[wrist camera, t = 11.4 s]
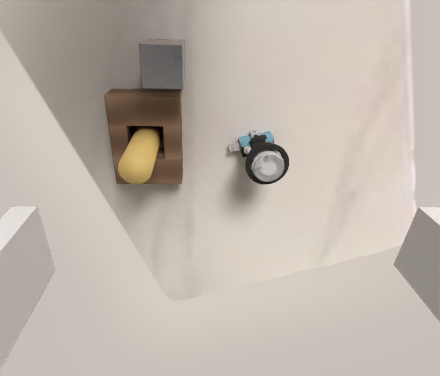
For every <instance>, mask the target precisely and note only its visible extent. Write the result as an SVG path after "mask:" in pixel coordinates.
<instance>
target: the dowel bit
mask: <svg viewBox="0 0 440 376" xmlns="http://www.w3.org/2000/svg"><path fill="white" fill-rule="evenodd" d="M161 138H162V130H161V128H160V127H159V126H138V127H137V129H136V131H135V133H134V135H133V136H132V138H131V140H130V142H129V144H128V146H127V148H126V150H125V152H124V154H123V156H122V158H121V160H120V161H119V164H118V172H119V174H120V176H121V177H122V178H123V179H124V180H125V181H127V182H128V183H131V184H142V183H144V182H146V181H147V180H148V179H149V178H150V177H151V174H152V171H153V167H154V163H155V160H156V156H157V152H158V149H159V145H160V141H161Z"/></svg>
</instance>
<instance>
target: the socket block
mask: <svg viewBox="0 0 440 376" xmlns="http://www.w3.org/2000/svg"><path fill="white" fill-rule="evenodd" d="M104 98H105V105H106V112H107V119H108V126H109V133H110V140H111V147H112V154H113V161H114V168H115V175H116V182H117V184H131V183H128V182H127V181H125V180H124V179H123V178H122V177H121V176H120V174H119V172H118V164H119V161H120V160H121V158H122V156H123V154H124V152H125V150H126V148H127V146H128V144H129V142H130V140H131V138H132V136H133V135H134V133H133V126H163V133H164V148H159V149H158V152H157V156H156V160H155V163H154V167H153V171H152V174H151V177H150V178H149V179H148V180H147V181H146V182H144V183H142V184H182V176H183V158H182V116H181V90H141V89H111V90H110V91H109V92H108V93H106V94H105V95H104Z"/></svg>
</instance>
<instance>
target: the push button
mask: <svg viewBox="0 0 440 376" xmlns="http://www.w3.org/2000/svg"><path fill="white" fill-rule="evenodd" d="M250 133H251V135H249V136H244V137H239V141H237V142H235V143H232V144H228V146H229V151H230V152H231V151H236V150H237V151H241V153H242V156H243V157H247V159H246V164H245V167H246V171H247V174H248V176H249V177H250V178H251V179H252V180H253V181H254V182H256V183H259V184H271V183H274V182H277V181H278V180H280V179H281V178H282V177H283V176H284V175H285V173H286V172H287V170H288V167H289V158H288V155H287V153H286V152H285V150H284V149H283V148H282V147H280V146H278V145H276V144H274V138H273V135H272V134H271V132H264V133H259V132H258V131H257V130H254V131H250ZM231 145H233V146H231ZM232 149H233V150H232ZM277 151H278V152H279V153H280V154H281V155H280V154H278V153H277ZM251 165H252V170H251Z"/></svg>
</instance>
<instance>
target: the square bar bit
mask: <svg viewBox="0 0 440 376" xmlns="http://www.w3.org/2000/svg"><path fill="white" fill-rule="evenodd" d="M139 51H140V63H141V75H142V88H155V89H183V86H184V80H185V40H169V39H149V40H147V41H144V42H142V43H140V44H139Z"/></svg>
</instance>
